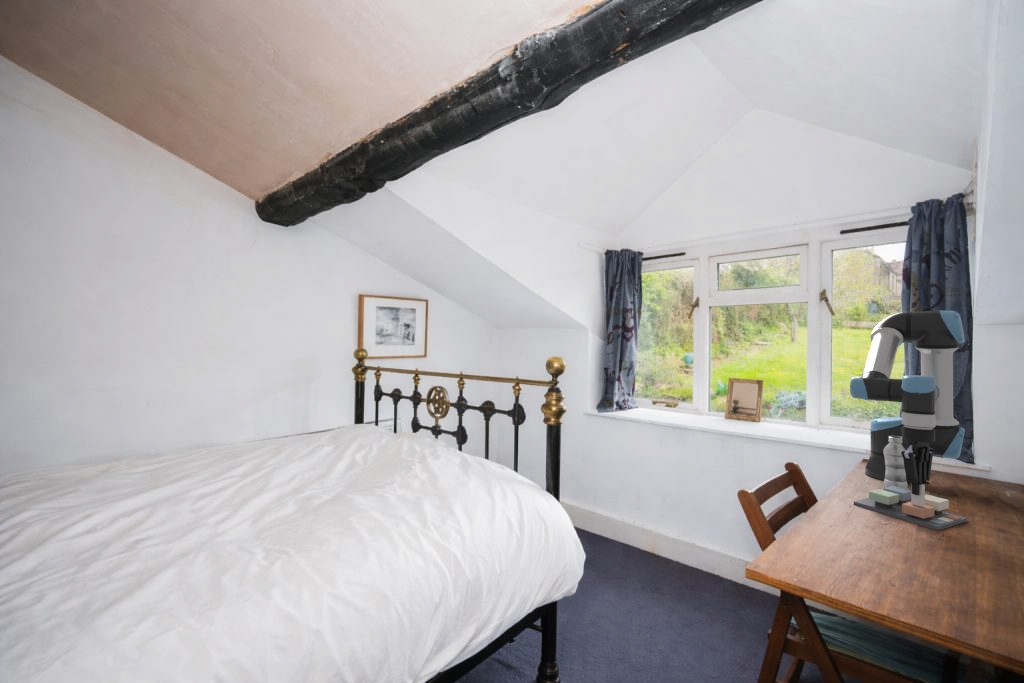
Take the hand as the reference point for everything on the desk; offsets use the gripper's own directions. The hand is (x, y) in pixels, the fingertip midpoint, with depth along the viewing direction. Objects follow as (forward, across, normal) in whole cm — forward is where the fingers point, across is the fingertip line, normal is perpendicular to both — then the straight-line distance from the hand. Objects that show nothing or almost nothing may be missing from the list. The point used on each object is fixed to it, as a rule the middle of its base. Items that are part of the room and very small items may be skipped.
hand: (917, 504), depth 136 cm
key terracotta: (+3, 0, 0) cm, 3 cm away
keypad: (+5, -4, -4) cm, 8 cm away
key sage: (+2, 0, -9) cm, 9 cm away
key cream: (+2, -8, 0) cm, 8 cm away
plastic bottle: (+5, -21, -16) cm, 26 cm away
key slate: (+2, -8, -9) cm, 12 cm away
